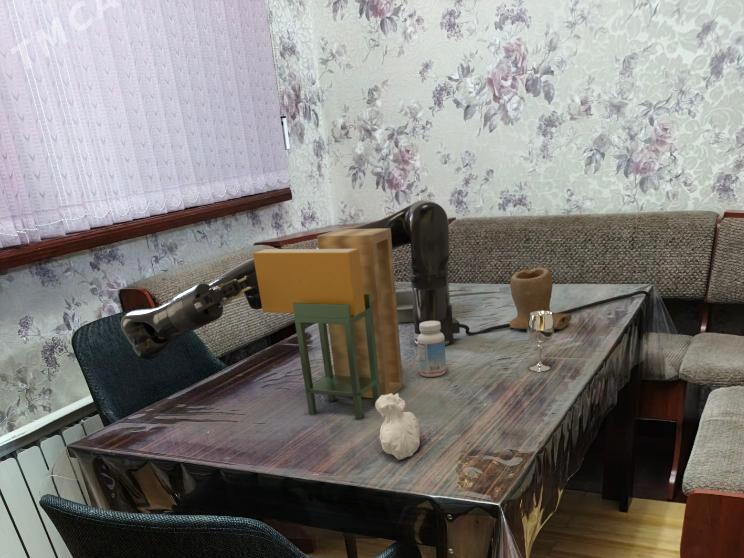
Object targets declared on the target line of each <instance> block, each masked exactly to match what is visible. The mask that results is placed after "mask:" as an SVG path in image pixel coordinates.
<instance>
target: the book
mask: <svg viewBox="0 0 744 558" xmlns="http://www.w3.org/2000/svg"><path fill="white" fill-rule="evenodd" d="M253 258H254V263H255V269H256V275H257V281H258V286H259V292H260V298H261V303H262V309H261V310H262V312H263V313H273V314H275V313H276V314H294V309H293V303H325V304H349V305H350V314H351V316H356V315H358V314H359V313H361V312H363V311H365V301H364V291H363V281H362V272H361V262H360V252H359V249H315V248H271V249H269V248H267V249H262V250H259V251H256V252H253V253H252V259H253Z"/></svg>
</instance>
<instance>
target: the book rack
mask: <svg viewBox="0 0 744 558" xmlns="http://www.w3.org/2000/svg"><path fill="white" fill-rule="evenodd" d="M364 301H365V311H363V312H361V313H359V314H358V315H356V316H351V314H350V305H349V304H325V303H293V309H294V313H293V314H294V315H293V316H294V317H293V318H294V324H295V331H296V337H297V338H296V339H297V344H298V351H299V357H300V363H301V369H302V377H303V383H304V384H303V385H304V390H305V397H306V403H307V409H308V414H309V415H316V414H317V413H318V411H317V410H318V409H317V404H316V396H315V394H320V395H327V400H328V402H335V401H336V400H337V396H341V397H352V403H353V411H354V419H355V420H362V419H363V418H364V411H363V401H362V397H361V395H362V394H363V393H364V392H366V391H367V390H369V389H370V388H372V394H373V398H372V404H373V406H375V403H376V401H377V400H378V399H379V397H380V396H381V395H380V385H379V375H378V365H377V354H376V344H375V334H374V324H373V313H372V307H371V297H370V294H364ZM363 317H365V326H366V336H367V345H368V355H369V365H370V374H371V378H366V377H359V375H358V366H357V357H356V348H355V339H354V330H353V323H354V322H355V321H357V320H359V319H361V318H363ZM306 323H307V324H317V325H318V326H317V327H318V333H319V339H320V347H321V348H320V349H321V355H322V363H323V369H324V376H323V377H321V378H320V379H318V380H317V381H315V382H313V377H312V370H311V363H310V357H309V356H310V355H309V348H308V344H307V336H306V329H305V324H306ZM328 324H344V327H345V335H346V344H347V352H348V361H349V369H350V376H340V375H335V374H334V372H333V362H332V355H331V349H330V348H331V347H330V339H329V335H328V327H327V325H328Z"/></svg>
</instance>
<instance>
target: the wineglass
mask: <svg viewBox="0 0 744 558" xmlns="http://www.w3.org/2000/svg"><path fill="white" fill-rule="evenodd" d="M550 311H551V310H550ZM550 311H535V312H531V313H530V315H529V319H528V324H527V329H526V334H527V338H528V339H529V340H530V341H531V342H533V343H535V344H537V351H538V362H537V364H535V365H531V366H529V370H530V371H533V372H546V371H548V370H550V369H551V367H550V366H549V365H546V364H543V363H542V351H543V345H542V344H545V343H547V342H549V341H550V340H551V339H552V338H553V336H554V333H555V329H554V321H553V316H552V313H553V312H552V311H551V312H550Z"/></svg>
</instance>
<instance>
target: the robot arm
mask: <svg viewBox="0 0 744 558" xmlns="http://www.w3.org/2000/svg"><path fill="white" fill-rule="evenodd" d="M449 223H450V222H449V218H448V214H447V211H446V210H445V209H444V208H443V206H442V205H440V204H439V203H437V202H435V201H433V200H430V199H420V200H417V201H415V202H413V203H411V204H410V205H408V206H406V207H404V208H402V209H400V210H398V211H397V212H395V213H393V214H392V213H391V214H390V215H389V216H386V217H384V218H381V219H379V220H376V221H371V222H368V223H364V224H361V225H358V226H355V227H352V228H351V229H385V228H391V240H392V251H394V250H395V249H398V248H400V247H404V246H407V245H410V262H409V268H410V269H409V270H410V283H411V284H410V285H411V290H412V300H413V314H414V322H413V328H414V333H413V338H414V345H415V346H416V347H418V344H417V338H418V336H419V335H420V334H421V332H420V330H419V329H420V328H419V324H420V323H422V322H425V321H439V322H440V324H441V328H440V329H441V330H440V332H441V333H443V335H444V339H445V346H448V345H452V344H454V335H455V334H460V333H461V329H465V331H464V332H465V334H466V335H467V336H475V335H479V334H480V335H481V334H486V333H489V332H492V331H497V330H502V329H507V328H511V327H510V325H509V323H504V324H498V325H493V326H489V327H487V328H484V329H481V330H478V331H470V327H469V326H468V325H467V324H463V323H460V321H459V320H458V319H457V318H456V317H453V305H452V304H451V301H450V300H451V299H450V280H449V279H450V276H449V262H450V226H449V225H450V224H449ZM314 249H319V248H318V245H316V247H315V248H314ZM638 295H644V296H646V297H651V293H650V292H649V291H647V290H641V289H640V290H637V291H633V292H631V293H627V294H621V295H618V296H613V297H610V298H606V299H601V300H597V301H594V302H590V303H587V304H584V305H580V306H576V307H573V308H569V309H565V310H561V311H557V313H559V314H571V313H575V312H578V311H581V310H585V309H588V308H593V307H596V306H600V305H604V304H606V303H611V302H614V301H619V300H623V299H628V298H632V297H635V296H638ZM242 296H244V298H245V299H246V302H247V304H248V306H249V307H250V309H252V310H263V309H262V303H261V298H260V292H259V286H258V281H257V275H256V269H255V263H254V258H253V257H252V258H250V259H247V260H246V261H243V262H241V263H240V264H238V265H236V266H235V267H233V268H232V269H229V270H228V271H226V272H224V273H223V274H221V275H219V276H217V277H216V278H215V279H213V280H212V281H210V282H209V283H204V282H201V283H198V284H196V285H195V286H193V287H191V288H189V289H187V290H185V291H183V292H182V293H180V294H177V295H176V296H175V297H173V298H172V299H171V300H169V301H168V302H165V303H163V304H162V305H159V306H158V307H153V308H145V309H143V308H142V309H136V310H135V309H134V310H131V311H129V312H127V313H126V314H125V315H123V317H122V318H121V320H120V327H121V330H122V332H123V334H124V336H125V337H126V339H127V340H128V342H129V344H130V346H131V348H132V349H133V351H134V353H135V354H136V356H137V357H138V358H139V359H141V360H144V361H150V360H154V359H156V358H158V357H159V356H160V355H162V354H163V353H164V352H165V351H166V350H167V349H168V348H169V347H170V346H171V344H173V343H174V342H175V341H176V340H178V339H179V338H181V337H182V336H185V335H186V334H188V333H190V332H193V331H196V330H197V329H198V330H199V329H200V328H203V327H205V326H207V325H209V324H211V323H213V322H215V321H217V320H219V319H220V318H221V317H222V315H223V313H224V306H227V305H228V304H231V303H232V302H233V301H234V300H236V299H238V298H240V297H242ZM460 328H461V329H460Z"/></svg>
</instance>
